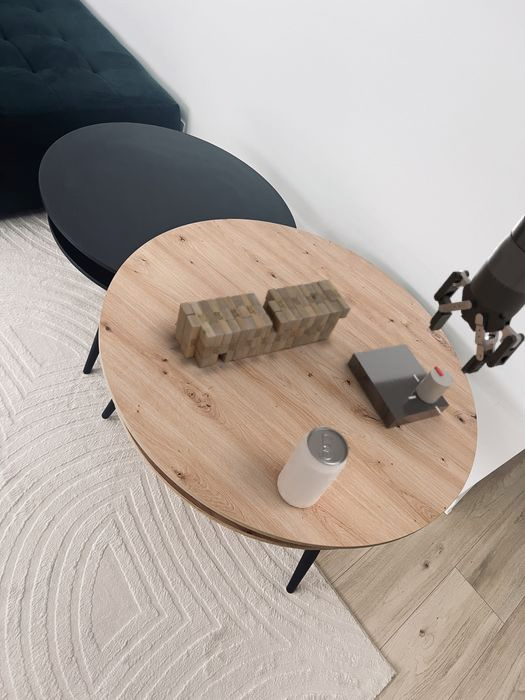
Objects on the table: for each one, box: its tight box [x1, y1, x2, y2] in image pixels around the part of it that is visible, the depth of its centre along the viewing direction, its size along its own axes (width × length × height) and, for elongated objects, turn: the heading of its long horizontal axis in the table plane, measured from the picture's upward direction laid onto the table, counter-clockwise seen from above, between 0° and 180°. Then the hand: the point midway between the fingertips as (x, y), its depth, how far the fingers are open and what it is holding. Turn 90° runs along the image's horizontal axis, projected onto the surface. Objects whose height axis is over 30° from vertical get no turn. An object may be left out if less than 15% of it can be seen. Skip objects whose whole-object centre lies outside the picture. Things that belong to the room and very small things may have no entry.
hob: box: [347, 343, 450, 430], centre depth 93 cm, size 15×13×3 cm
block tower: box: [174, 279, 351, 369], centre depth 91 cm, size 8×8×29 cm
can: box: [276, 425, 350, 509], centre depth 72 cm, size 6×6×12 cm
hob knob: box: [416, 365, 454, 404], centre depth 89 cm, size 4×4×5 cm
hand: (449, 349), depth 82 cm, fingers open, 8 cm apart
